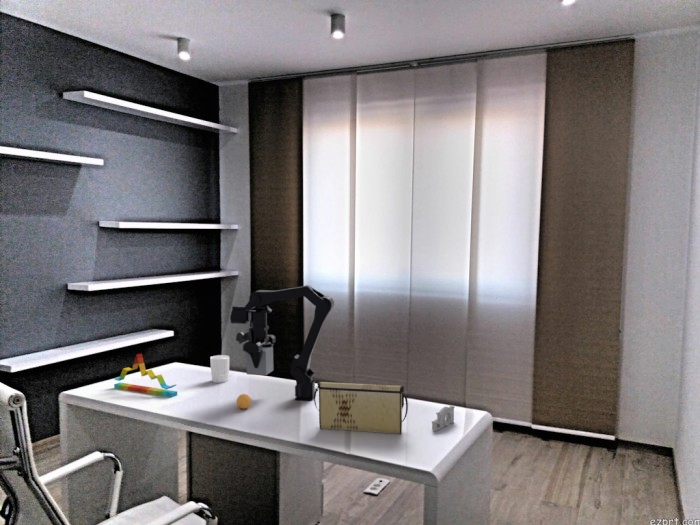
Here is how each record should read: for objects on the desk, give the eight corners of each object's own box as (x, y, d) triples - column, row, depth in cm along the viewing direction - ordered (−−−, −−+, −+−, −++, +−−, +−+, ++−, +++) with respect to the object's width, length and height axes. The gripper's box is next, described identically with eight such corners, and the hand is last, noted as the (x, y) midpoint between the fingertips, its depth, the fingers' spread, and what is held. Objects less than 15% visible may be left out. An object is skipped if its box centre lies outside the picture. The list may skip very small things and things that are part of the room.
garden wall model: (435, 432, 175) (435, 413, 175) (430, 430, 176) (430, 411, 176) (455, 421, 184) (455, 403, 184) (450, 420, 186) (450, 402, 185)
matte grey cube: (273, 370, 217) (272, 347, 216) (266, 375, 209) (265, 351, 209) (254, 369, 218) (253, 346, 218) (246, 374, 211) (245, 350, 210)
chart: (177, 396, 217) (176, 357, 216) (171, 398, 214) (170, 358, 213) (120, 387, 231) (119, 350, 230) (114, 389, 228) (113, 351, 227)
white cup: (227, 383, 234) (227, 359, 234) (208, 383, 234) (207, 359, 234) (231, 378, 242) (231, 355, 241) (213, 378, 242) (212, 355, 242)
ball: (253, 406, 202) (252, 392, 202) (247, 410, 197) (247, 396, 197) (239, 405, 203) (239, 392, 203) (234, 410, 198) (234, 396, 198)
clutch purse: (409, 428, 179) (409, 381, 178) (406, 436, 172) (406, 387, 171) (317, 422, 185) (317, 377, 184) (311, 429, 178) (311, 382, 177)
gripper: (248, 320, 224) (249, 359, 225) (228, 327, 206) (229, 370, 206) (275, 320, 221) (276, 360, 222) (257, 328, 203) (258, 371, 204)
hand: (260, 365), depth 214 cm, fingers closed on matte grey cube, 8 cm apart
